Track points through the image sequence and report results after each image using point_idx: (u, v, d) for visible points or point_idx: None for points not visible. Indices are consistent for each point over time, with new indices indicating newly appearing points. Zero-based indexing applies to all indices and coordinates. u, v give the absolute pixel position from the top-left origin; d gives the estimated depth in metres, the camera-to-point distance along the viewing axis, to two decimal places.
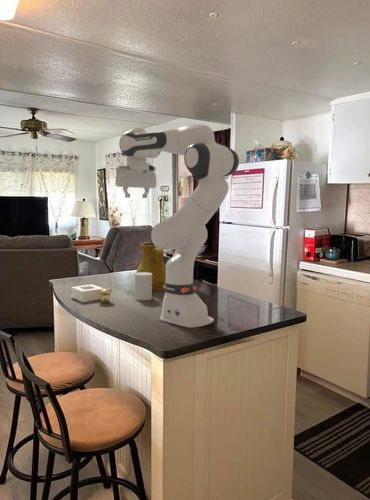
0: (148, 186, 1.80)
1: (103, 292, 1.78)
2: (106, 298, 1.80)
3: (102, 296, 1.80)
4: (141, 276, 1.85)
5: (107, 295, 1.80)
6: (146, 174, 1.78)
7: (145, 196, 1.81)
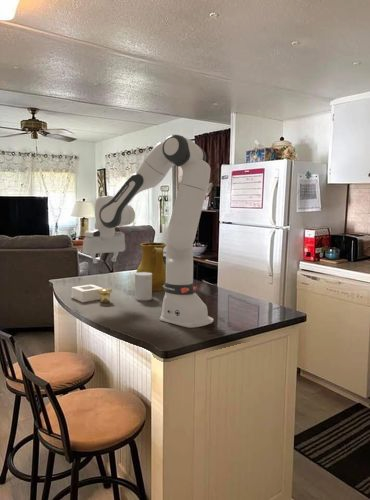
0: None
1: (103, 292, 1.78)
2: (106, 298, 1.80)
3: (102, 296, 1.80)
4: (141, 276, 1.85)
5: (107, 295, 1.80)
6: None
7: None
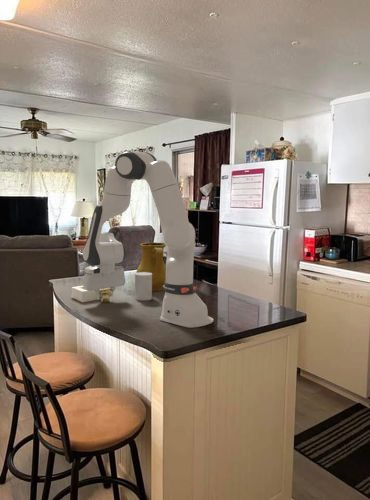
0: None
1: (103, 292, 1.78)
2: (106, 298, 1.80)
3: (102, 296, 1.80)
4: (141, 276, 1.85)
5: (107, 295, 1.80)
6: None
7: None
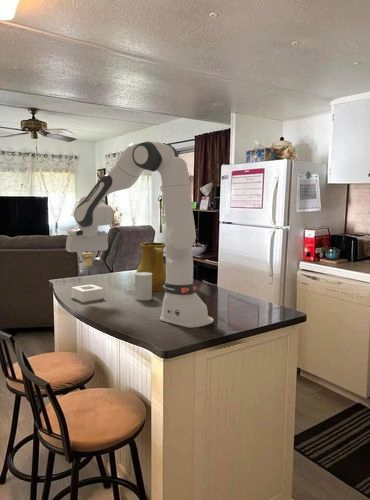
0: None
1: (85, 255, 1.82)
2: (88, 261, 1.84)
3: (84, 259, 1.84)
4: (141, 276, 1.85)
5: (89, 259, 1.84)
6: None
7: None
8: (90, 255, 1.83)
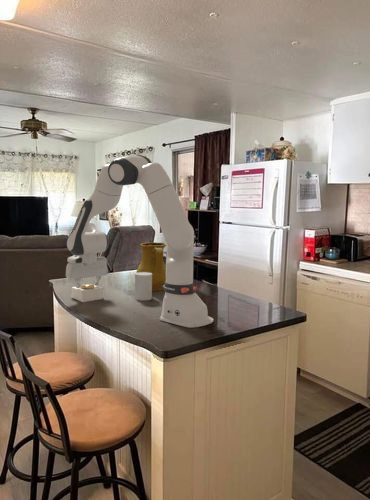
0: None
1: (85, 287, 1.85)
2: None
3: None
4: (141, 276, 1.85)
5: None
6: None
7: None
8: (90, 287, 1.85)
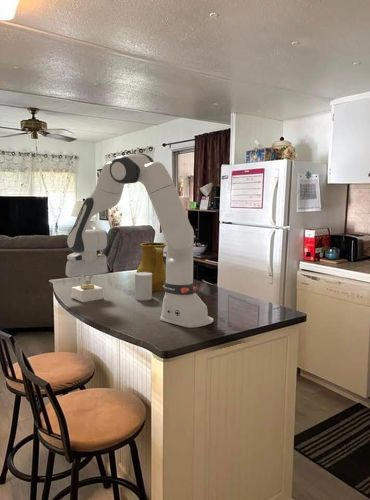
0: None
1: (85, 287, 1.85)
2: None
3: None
4: (141, 276, 1.85)
5: None
6: None
7: None
8: (90, 287, 1.85)
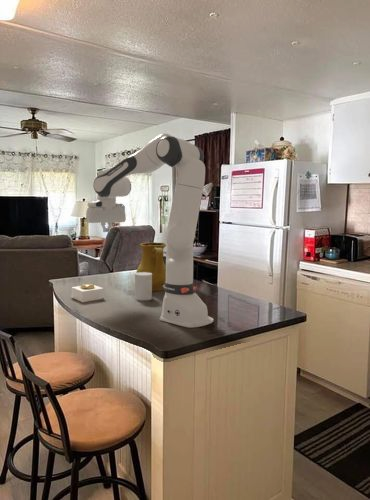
0: None
1: (85, 287, 1.85)
2: None
3: None
4: (141, 276, 1.85)
5: None
6: None
7: None
8: (90, 287, 1.85)
